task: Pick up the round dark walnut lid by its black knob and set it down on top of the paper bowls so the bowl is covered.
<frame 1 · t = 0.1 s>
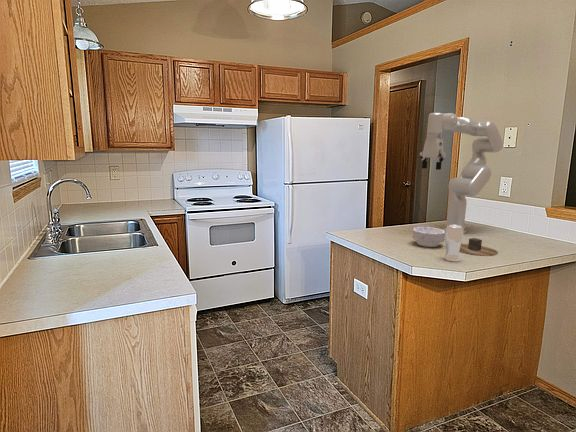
hand: (431, 168, 208), 37 cm above the countertop, tool pointing down, fingers open, 9 cm apart
paper bowls: (427, 245, 193), on the countertop
walnut lid: (474, 251, 185), on the countertop
beer glass: (451, 260, 168), on the countertop
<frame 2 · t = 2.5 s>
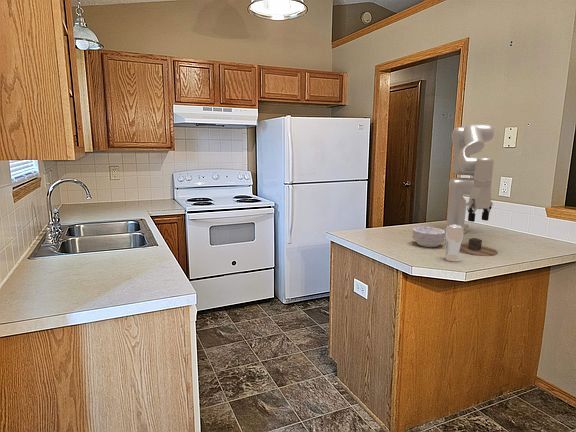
hand: (478, 220, 182), 14 cm above the countertop, tool pointing down, fingers open, 9 cm apart
nothing on the countertop moved.
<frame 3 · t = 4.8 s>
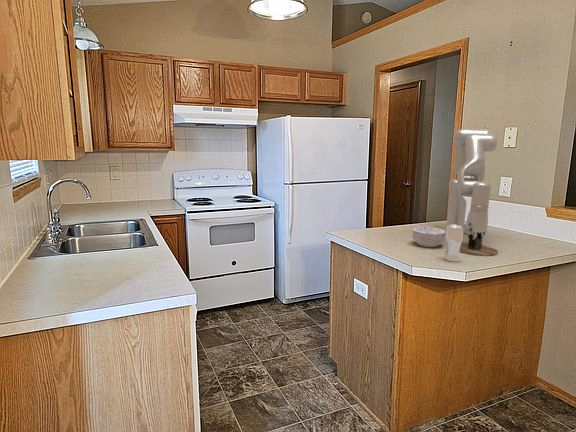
hand: (474, 246, 185), 2 cm above the countertop, tool pointing down, fingers closed on walnut lid, 4 cm apart
walnut lid: (474, 250, 185), on the countertop, touching gripper
everything else where it was.
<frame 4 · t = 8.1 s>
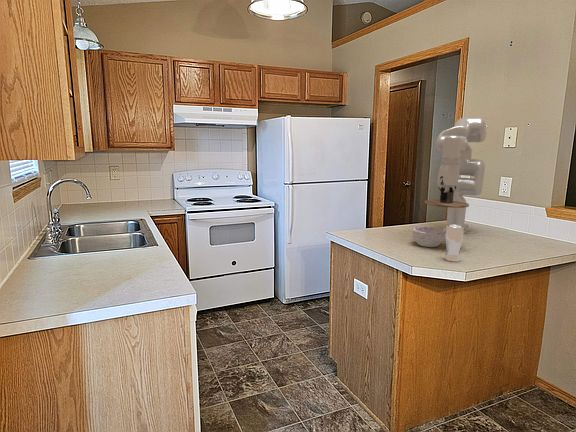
hand: (446, 199, 186), 23 cm above the countertop, tool pointing down, fingers closed on walnut lid, 4 cm apart
walnut lid: (446, 204, 187), point 21 cm above the countertop, touching gripper
everything else where it was.
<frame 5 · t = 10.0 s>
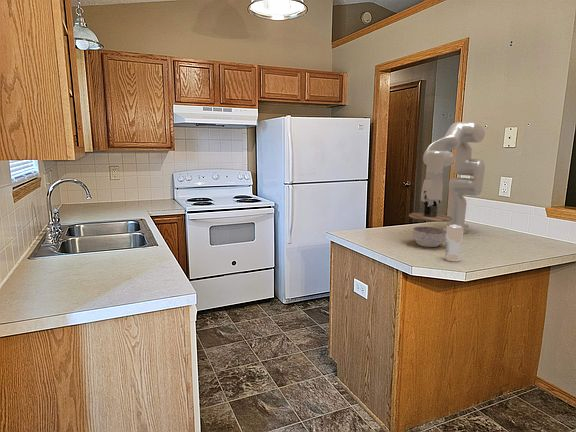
hand: (430, 213, 190), 16 cm above the countertop, tool pointing down, fingers closed on walnut lid, 4 cm apart
walnut lid: (429, 217, 190), point 14 cm above the countertop, touching gripper
everything else where it was.
when the fingers open (11 cm above the countertop, at t = 11.6 s): walnut lid drops 1 cm, resting on paper bowls.
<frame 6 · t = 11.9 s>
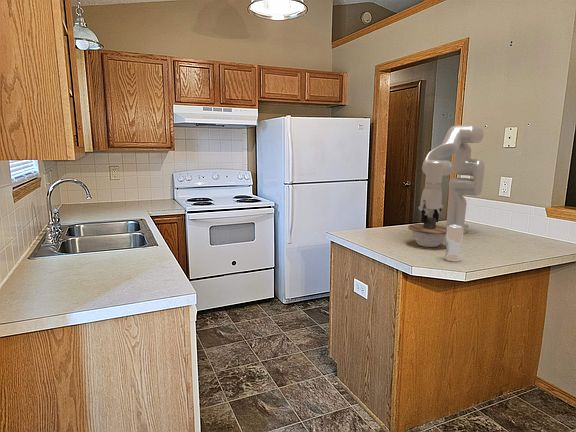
hand: (429, 221, 191), 12 cm above the countertop, tool pointing down, fingers open, 7 cm apart
paper bowls: (427, 245, 193), on the countertop, touching walnut lid
walnut lid: (429, 229, 191), point 8 cm above the countertop, touching paper bowls
everything else where it was.
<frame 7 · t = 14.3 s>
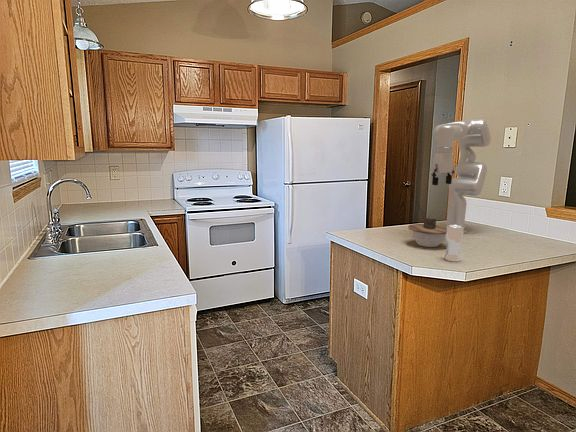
hand: (441, 184, 198), 30 cm above the countertop, tool pointing down, fingers open, 9 cm apart
nothing on the countertop moved.
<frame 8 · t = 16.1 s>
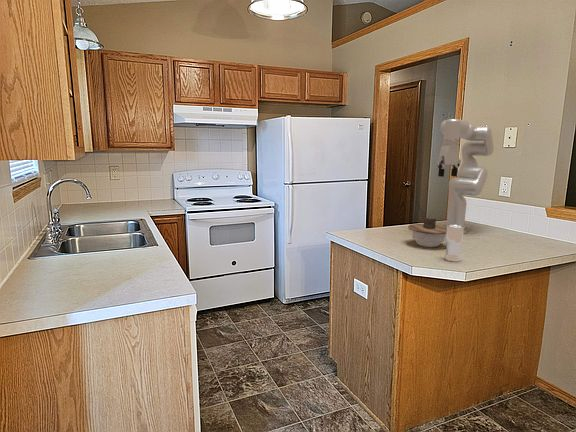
hand: (447, 176, 204), 33 cm above the countertop, tool pointing down, fingers open, 9 cm apart
nothing on the countertop moved.
at the end: walnut lid 0.1 cm from the paper bowls (horizontally); walnut lid point 7.8 cm above the countertop; walnut lid tilted 0° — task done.
